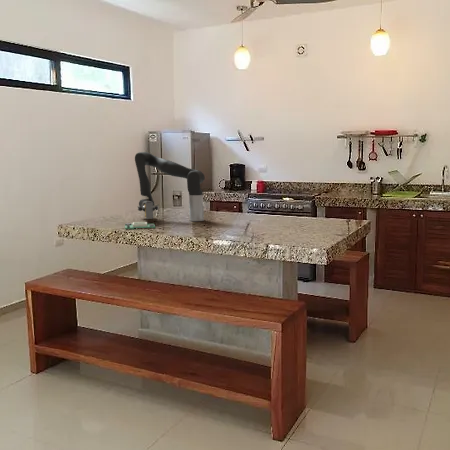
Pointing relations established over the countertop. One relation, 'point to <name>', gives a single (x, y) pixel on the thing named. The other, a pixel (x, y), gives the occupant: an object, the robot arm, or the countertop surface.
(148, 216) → the plug
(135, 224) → the mount board
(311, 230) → the countertop surface
